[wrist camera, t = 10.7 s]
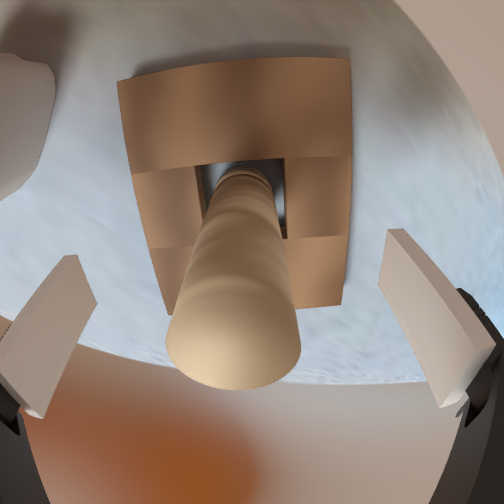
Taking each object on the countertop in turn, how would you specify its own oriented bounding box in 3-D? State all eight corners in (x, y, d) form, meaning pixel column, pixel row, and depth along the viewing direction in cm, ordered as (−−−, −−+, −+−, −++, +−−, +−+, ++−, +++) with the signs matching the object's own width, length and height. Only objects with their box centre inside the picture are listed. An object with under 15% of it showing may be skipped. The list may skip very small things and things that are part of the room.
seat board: (173, 300, 25) (168, 315, 24) (128, 82, 16) (116, 81, 15) (335, 290, 25) (341, 305, 23) (340, 61, 16) (349, 58, 14)
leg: (218, 222, 22) (183, 390, 10) (211, 169, 20) (149, 304, 8) (274, 218, 21) (298, 386, 9) (270, 164, 19) (303, 296, 7)
